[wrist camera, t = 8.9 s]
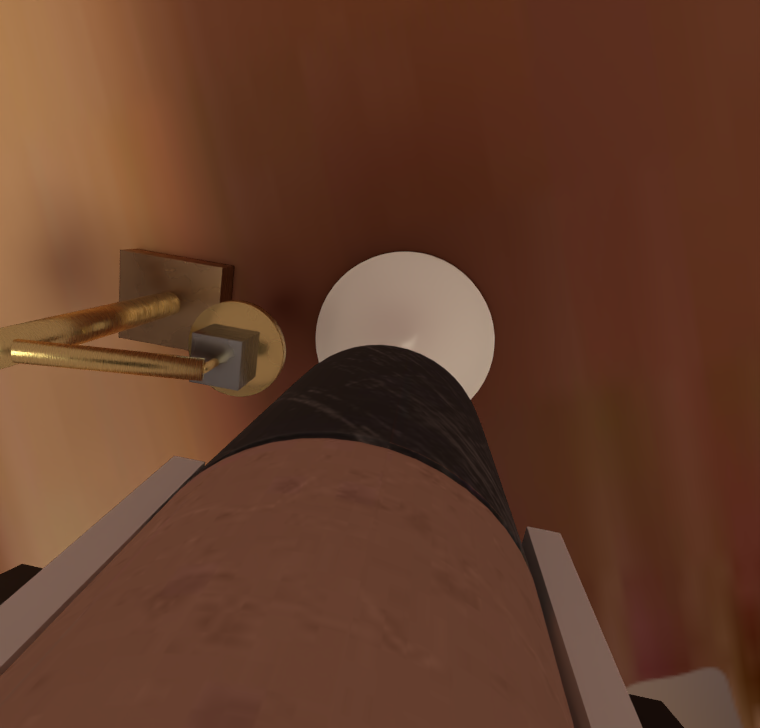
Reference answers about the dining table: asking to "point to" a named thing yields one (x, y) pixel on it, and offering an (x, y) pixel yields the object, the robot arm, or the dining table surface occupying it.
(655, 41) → the dining table surface
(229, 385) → the balance
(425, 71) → the dining table surface
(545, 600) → the robot arm
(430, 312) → the cream round disc
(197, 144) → the dining table surface
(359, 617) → the travel mug
